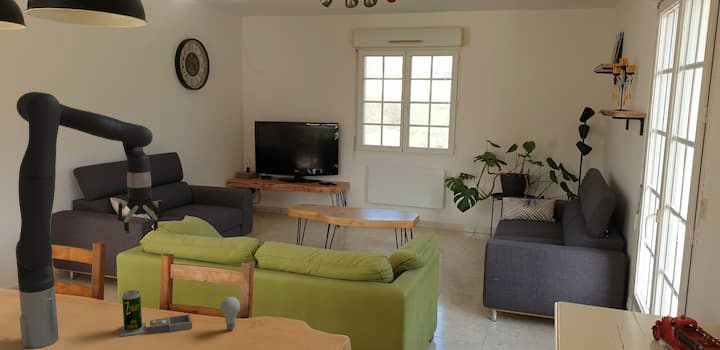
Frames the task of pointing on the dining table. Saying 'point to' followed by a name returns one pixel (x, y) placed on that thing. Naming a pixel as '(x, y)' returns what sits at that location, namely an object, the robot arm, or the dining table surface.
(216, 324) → the dining table surface
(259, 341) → the dining table surface
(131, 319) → the beer can
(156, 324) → the grey button tray
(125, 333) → the slate mat
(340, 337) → the dining table surface
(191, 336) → the dining table surface
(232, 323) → the lightbulb
